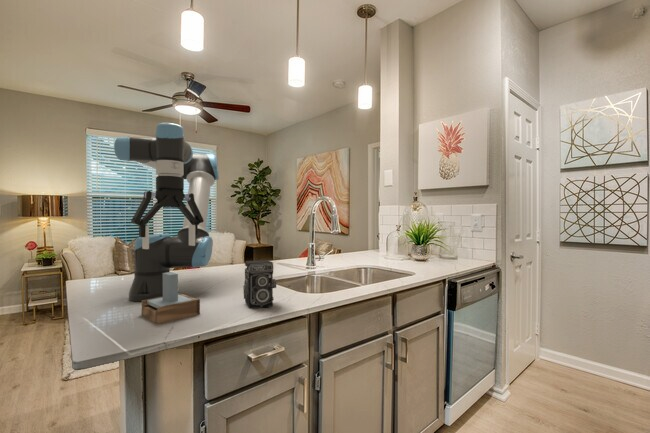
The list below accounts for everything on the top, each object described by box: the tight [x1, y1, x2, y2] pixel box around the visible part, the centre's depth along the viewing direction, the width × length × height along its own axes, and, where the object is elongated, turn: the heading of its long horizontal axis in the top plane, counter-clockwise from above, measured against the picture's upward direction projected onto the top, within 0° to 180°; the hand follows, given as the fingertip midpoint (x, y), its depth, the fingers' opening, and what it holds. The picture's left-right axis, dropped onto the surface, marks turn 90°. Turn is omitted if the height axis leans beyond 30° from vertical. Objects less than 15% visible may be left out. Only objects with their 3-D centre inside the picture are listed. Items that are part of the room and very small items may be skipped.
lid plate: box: [147, 271, 193, 308], centre depth 96 cm, size 10×9×9 cm
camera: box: [242, 259, 277, 309], centre depth 106 cm, size 10×10×15 cm
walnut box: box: [141, 292, 201, 325], centre depth 96 cm, size 12×12×5 cm
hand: (170, 247), depth 95 cm, fingers open, 13 cm apart
